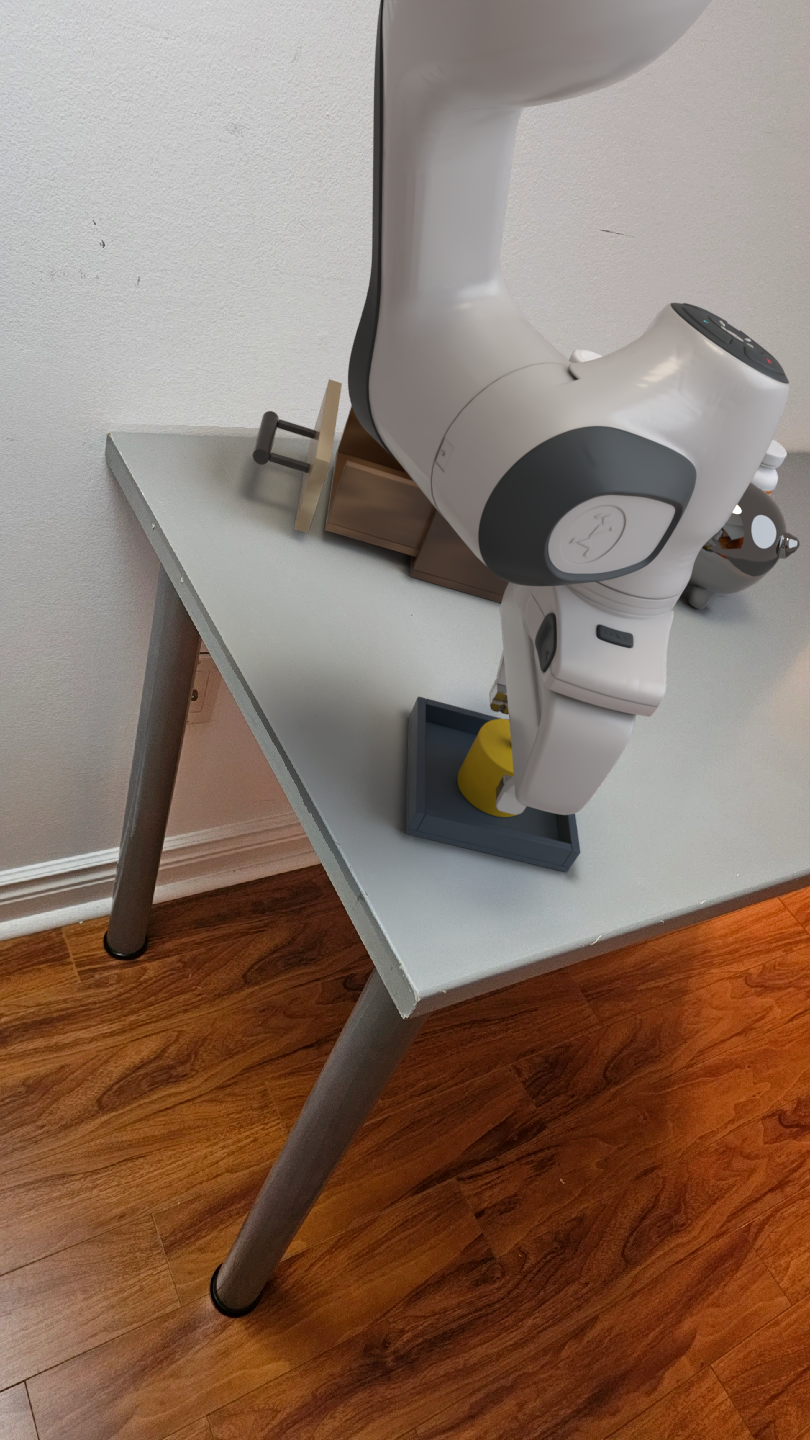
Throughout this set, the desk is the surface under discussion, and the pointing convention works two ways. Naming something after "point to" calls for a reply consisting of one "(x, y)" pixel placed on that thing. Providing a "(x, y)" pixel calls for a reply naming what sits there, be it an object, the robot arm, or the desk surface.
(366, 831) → the desk surface
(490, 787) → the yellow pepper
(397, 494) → the drawer
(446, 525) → the cabinet
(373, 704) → the desk surface
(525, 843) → the tray
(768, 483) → the pill bottle
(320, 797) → the desk surface
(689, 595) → the piggy bank
